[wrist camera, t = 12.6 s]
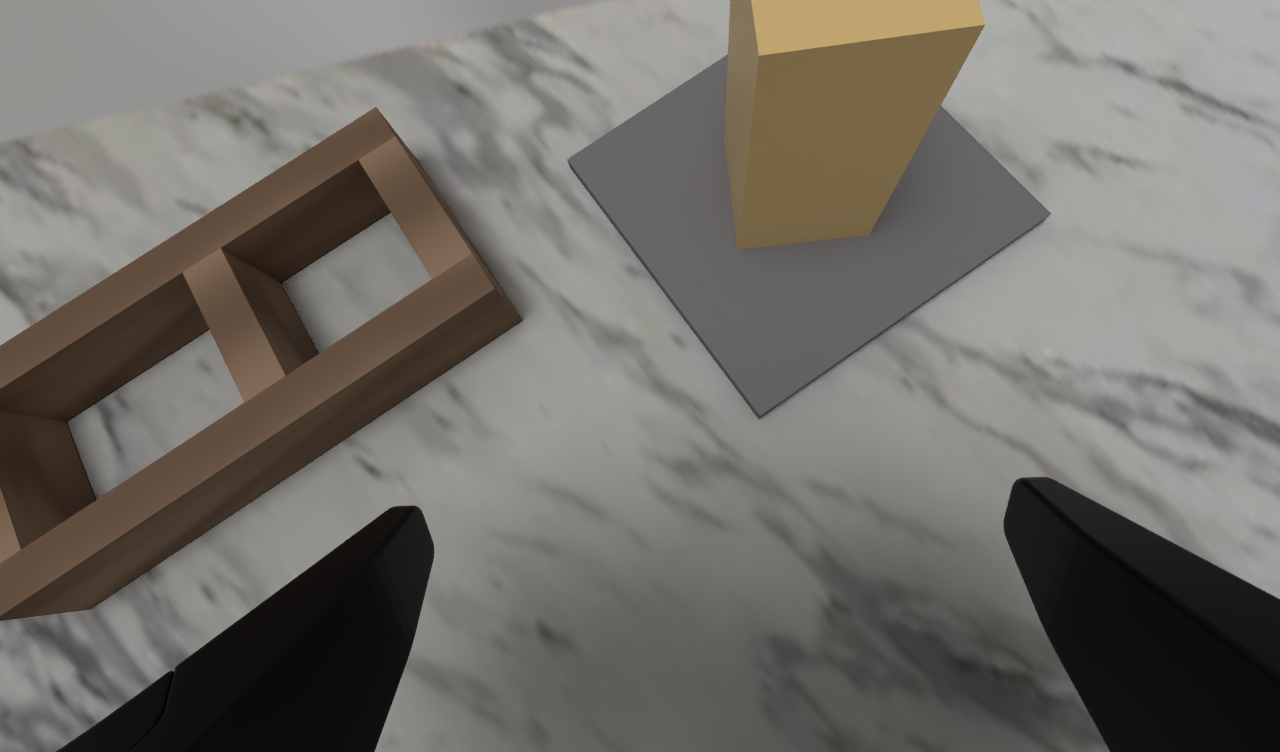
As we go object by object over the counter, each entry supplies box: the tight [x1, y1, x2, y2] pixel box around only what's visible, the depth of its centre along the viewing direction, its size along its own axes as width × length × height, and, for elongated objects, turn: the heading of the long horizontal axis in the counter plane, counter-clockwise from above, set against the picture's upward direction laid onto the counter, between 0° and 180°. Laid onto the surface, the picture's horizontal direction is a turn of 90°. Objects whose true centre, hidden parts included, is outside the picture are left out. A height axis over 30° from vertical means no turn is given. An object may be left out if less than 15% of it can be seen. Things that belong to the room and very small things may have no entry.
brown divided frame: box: [0, 107, 522, 621], centre depth 21 cm, size 8×18×3 cm, turn 124°
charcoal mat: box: [567, 55, 1051, 418], centre depth 22 cm, size 12×12×1 cm
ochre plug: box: [724, 0, 985, 250], centre depth 17 cm, size 4×4×9 cm
